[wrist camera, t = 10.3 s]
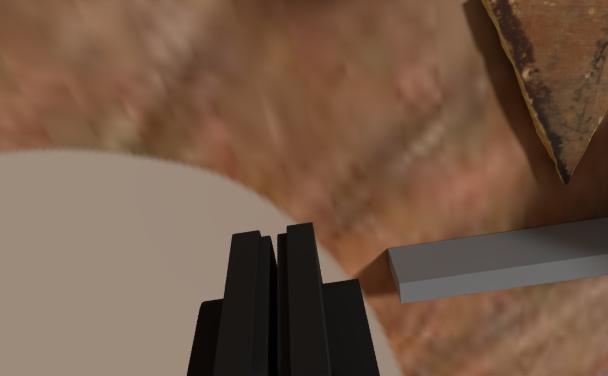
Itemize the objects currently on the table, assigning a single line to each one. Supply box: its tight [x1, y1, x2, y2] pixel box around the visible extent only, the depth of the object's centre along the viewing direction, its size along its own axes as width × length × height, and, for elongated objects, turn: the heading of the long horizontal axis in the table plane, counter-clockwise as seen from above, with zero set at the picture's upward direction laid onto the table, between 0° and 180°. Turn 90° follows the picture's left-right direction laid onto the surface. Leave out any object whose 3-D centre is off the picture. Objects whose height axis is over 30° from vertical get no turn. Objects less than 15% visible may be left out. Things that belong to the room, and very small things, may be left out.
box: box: [388, 217, 608, 304], centre depth 22 cm, size 18×14×3 cm
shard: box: [481, 0, 608, 185], centre depth 22 cm, size 11×8×2 cm
